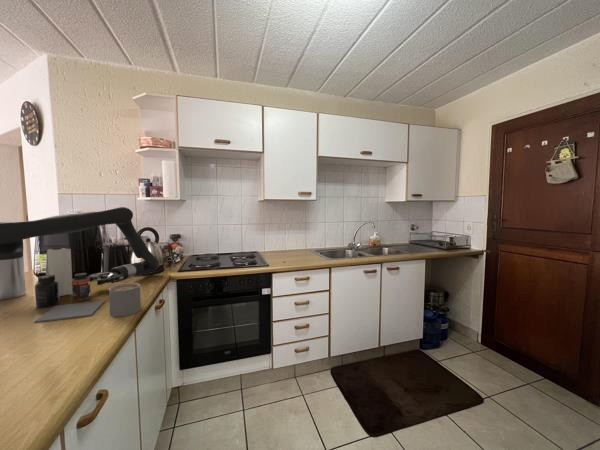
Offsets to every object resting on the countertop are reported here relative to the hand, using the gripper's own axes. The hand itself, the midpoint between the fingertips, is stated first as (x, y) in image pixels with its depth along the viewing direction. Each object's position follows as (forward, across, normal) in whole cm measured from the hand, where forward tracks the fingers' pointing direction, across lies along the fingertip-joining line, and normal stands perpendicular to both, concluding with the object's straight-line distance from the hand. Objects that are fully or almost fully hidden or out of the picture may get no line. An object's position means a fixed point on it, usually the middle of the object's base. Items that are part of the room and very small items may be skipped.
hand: (90, 282), depth 110 cm
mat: (+14, +10, +6) cm, 18 cm away
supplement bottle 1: (+12, -6, +7) cm, 15 cm away
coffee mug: (+7, +28, +7) cm, 30 cm away
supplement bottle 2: (+4, 0, +7) cm, 8 cm away
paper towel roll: (+3, -14, +7) cm, 16 cm away
